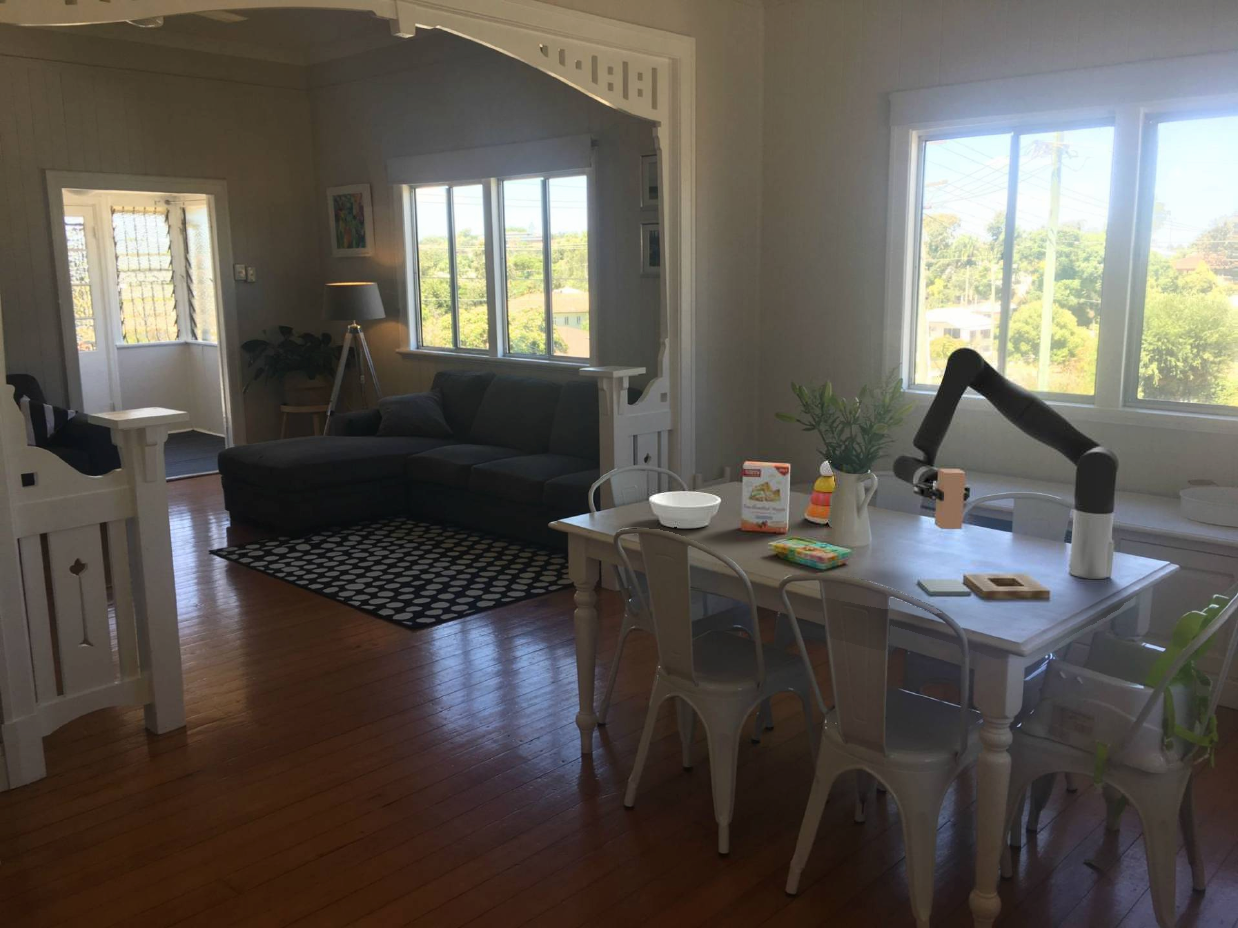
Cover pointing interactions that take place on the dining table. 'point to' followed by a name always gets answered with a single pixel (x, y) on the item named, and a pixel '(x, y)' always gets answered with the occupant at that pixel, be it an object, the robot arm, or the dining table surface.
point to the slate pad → (943, 587)
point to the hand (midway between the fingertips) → (953, 496)
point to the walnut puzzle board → (1018, 587)
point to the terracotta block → (950, 499)
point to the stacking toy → (821, 496)
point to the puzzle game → (810, 552)
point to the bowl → (684, 508)
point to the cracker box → (765, 497)
